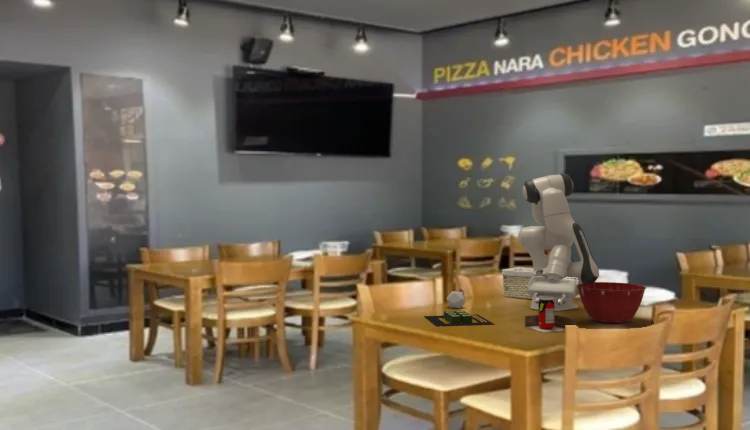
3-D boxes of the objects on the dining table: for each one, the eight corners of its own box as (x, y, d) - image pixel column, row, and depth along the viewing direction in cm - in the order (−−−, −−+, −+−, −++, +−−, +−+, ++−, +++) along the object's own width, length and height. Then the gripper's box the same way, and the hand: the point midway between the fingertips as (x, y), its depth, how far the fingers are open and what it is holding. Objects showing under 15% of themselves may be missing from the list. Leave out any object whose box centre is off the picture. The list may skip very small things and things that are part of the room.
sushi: (494, 326, 331) (494, 317, 331) (436, 328, 327) (436, 319, 327) (477, 316, 356) (477, 308, 356) (423, 318, 352) (423, 309, 352)
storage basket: (500, 297, 412) (500, 268, 412) (517, 293, 424) (517, 266, 424) (540, 301, 396) (540, 272, 395) (556, 298, 408) (557, 269, 407)
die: (468, 308, 378) (459, 291, 382) (468, 302, 370) (459, 284, 375) (452, 315, 377) (444, 297, 382) (452, 308, 370) (444, 291, 374)
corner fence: (551, 324, 331) (551, 313, 331) (575, 330, 316) (575, 319, 316) (522, 326, 325) (522, 316, 325) (546, 333, 310) (546, 322, 310)
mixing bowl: (617, 314, 356) (617, 280, 356) (660, 324, 330) (660, 287, 329) (563, 318, 346) (563, 283, 346) (603, 329, 320) (604, 291, 319)
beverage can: (552, 326, 323) (552, 297, 323) (556, 329, 317) (556, 299, 316) (536, 326, 323) (536, 297, 322) (540, 329, 317) (540, 299, 316)
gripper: (581, 282, 325) (575, 309, 317) (533, 280, 335) (526, 306, 327) (578, 272, 321) (572, 300, 313) (529, 271, 331) (522, 297, 323)
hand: (548, 303), depth 320 cm, fingers open, 8 cm apart
